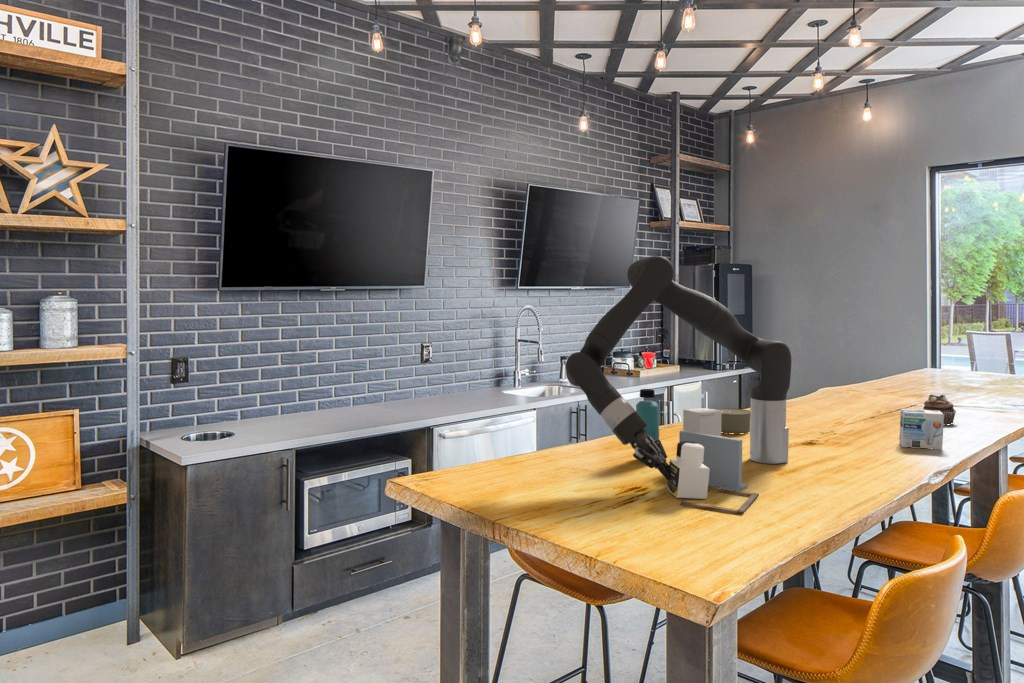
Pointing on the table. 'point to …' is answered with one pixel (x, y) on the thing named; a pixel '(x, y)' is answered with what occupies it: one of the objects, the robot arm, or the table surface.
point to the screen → (720, 459)
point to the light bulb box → (921, 428)
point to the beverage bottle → (649, 413)
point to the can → (735, 421)
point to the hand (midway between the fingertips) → (672, 477)
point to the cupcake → (941, 407)
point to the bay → (740, 511)
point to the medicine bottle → (689, 472)
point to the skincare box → (702, 421)
